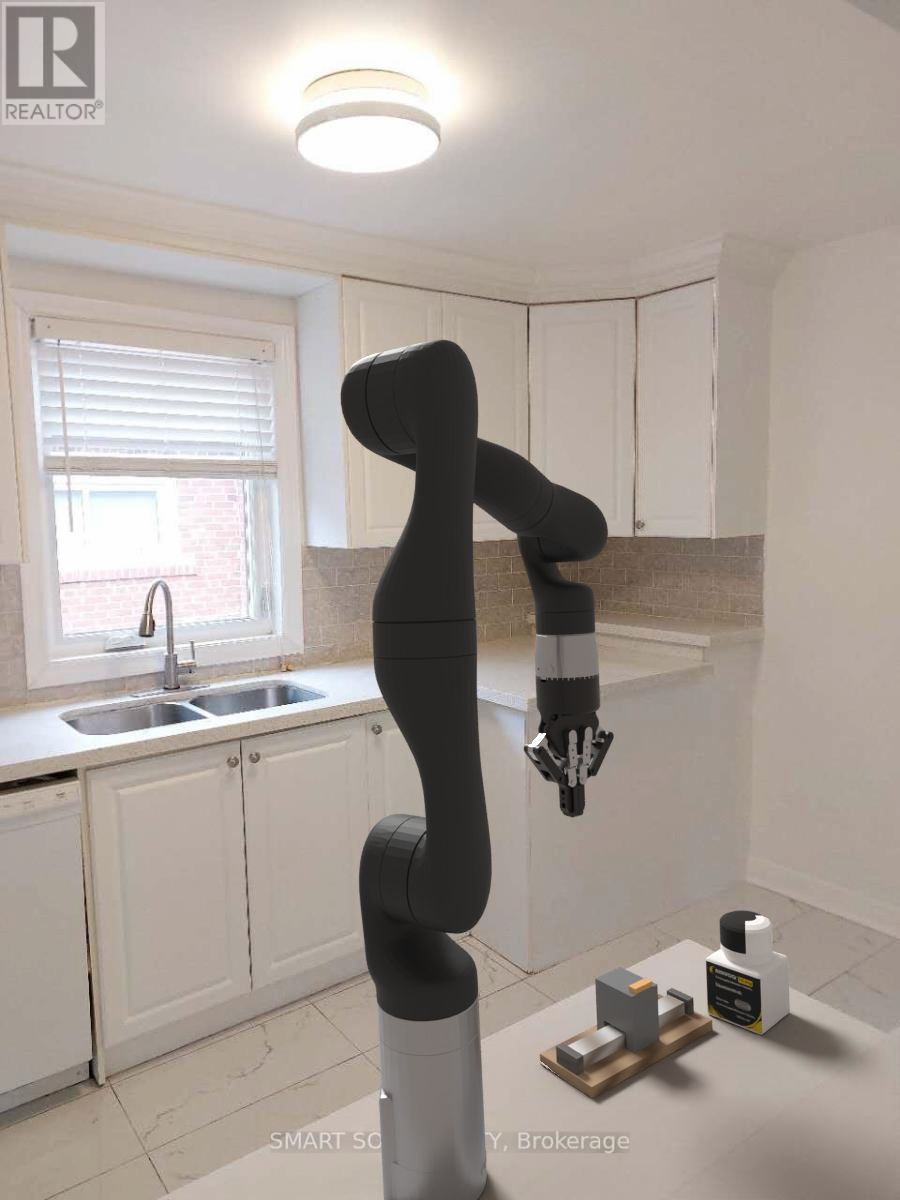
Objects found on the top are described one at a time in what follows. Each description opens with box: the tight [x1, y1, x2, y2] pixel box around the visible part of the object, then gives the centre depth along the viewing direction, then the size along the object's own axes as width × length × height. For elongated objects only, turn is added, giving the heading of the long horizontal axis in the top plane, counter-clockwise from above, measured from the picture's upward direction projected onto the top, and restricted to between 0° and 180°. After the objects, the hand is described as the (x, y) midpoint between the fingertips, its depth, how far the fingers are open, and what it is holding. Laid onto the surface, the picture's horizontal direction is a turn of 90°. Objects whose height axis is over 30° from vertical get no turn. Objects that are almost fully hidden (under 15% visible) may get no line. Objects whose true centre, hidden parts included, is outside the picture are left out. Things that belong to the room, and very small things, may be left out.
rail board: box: [539, 987, 714, 1099], centre depth 97 cm, size 20×8×3 cm, turn 126°
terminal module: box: [594, 966, 659, 1054], centre depth 97 cm, size 4×6×7 cm
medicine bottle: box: [705, 910, 791, 1036], centre depth 103 cm, size 7×7×12 cm
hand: (572, 815), depth 101 cm, fingers closed
